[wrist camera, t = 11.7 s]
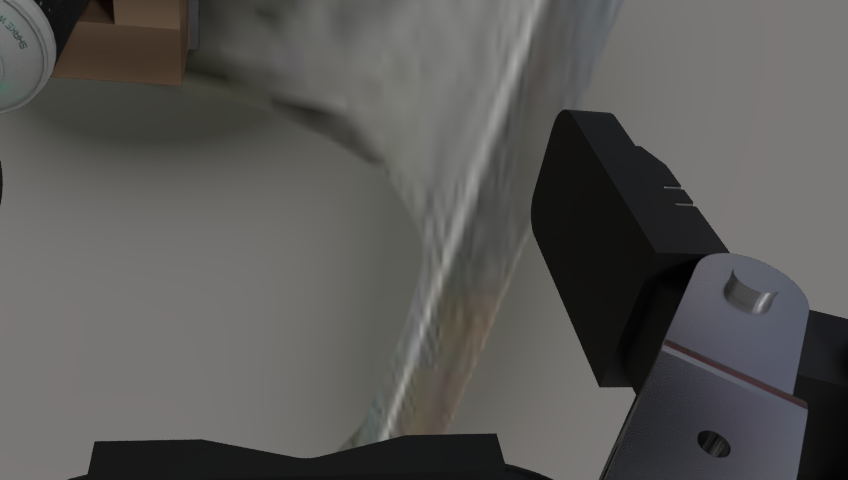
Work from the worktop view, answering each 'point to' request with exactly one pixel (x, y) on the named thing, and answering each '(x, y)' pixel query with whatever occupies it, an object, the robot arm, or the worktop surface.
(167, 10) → the socket block
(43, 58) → the spray can
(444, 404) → the worktop surface
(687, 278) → the robot arm
